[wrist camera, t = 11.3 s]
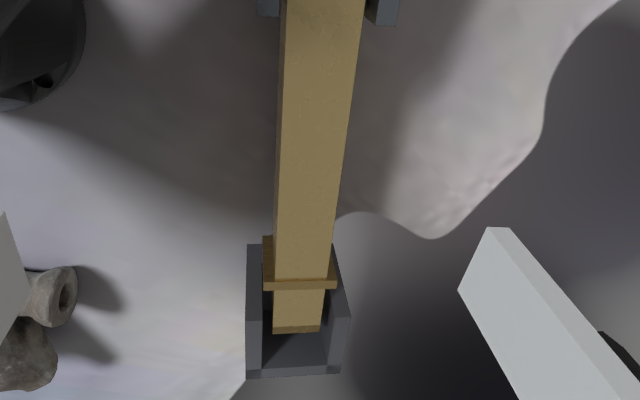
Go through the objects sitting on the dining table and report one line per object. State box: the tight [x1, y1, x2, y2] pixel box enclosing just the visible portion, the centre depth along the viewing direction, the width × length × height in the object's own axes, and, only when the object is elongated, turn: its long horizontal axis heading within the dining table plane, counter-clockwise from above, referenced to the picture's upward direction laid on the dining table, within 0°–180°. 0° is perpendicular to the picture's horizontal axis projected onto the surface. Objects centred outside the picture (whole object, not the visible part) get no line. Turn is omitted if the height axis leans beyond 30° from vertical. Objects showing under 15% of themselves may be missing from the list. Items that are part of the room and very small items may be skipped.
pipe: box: [0, 266, 78, 392], centre depth 42 cm, size 16×9×15 cm
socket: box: [245, 243, 351, 379], centre depth 43 cm, size 10×8×10 cm
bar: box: [262, 0, 365, 334], centre depth 33 cm, size 6×32×6 cm, turn 175°
